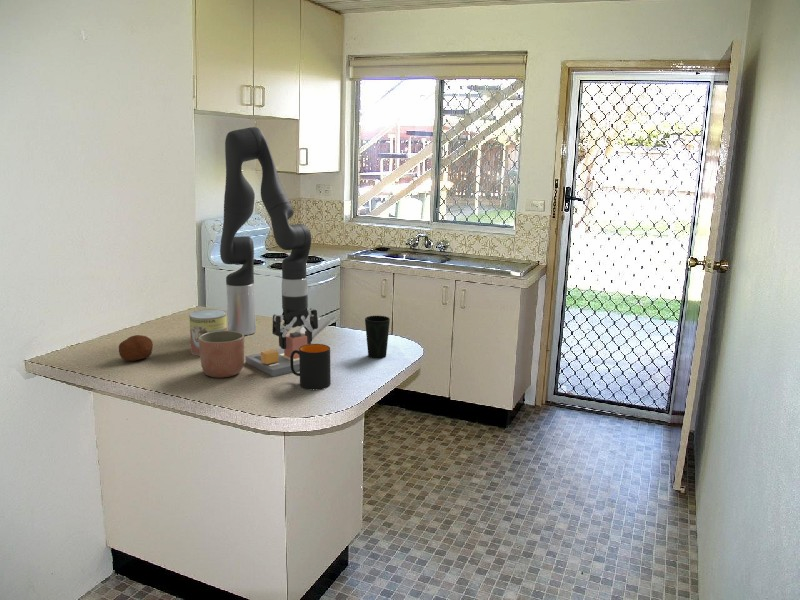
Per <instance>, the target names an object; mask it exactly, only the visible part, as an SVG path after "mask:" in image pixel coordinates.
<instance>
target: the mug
mask: <svg viewBox="0 0 800 600" xmlns="http://www.w3.org/2000/svg"><path fill="white" fill-rule="evenodd" d="M295 353H298V354H299V362H300V370H299V372H297V371H295V370H294V367H293V356H294V354H295ZM290 366H291V370H292V372H291V373H292V374H293V375H294V376H297V377H299V385H300V388H302V389H304V390H308V389H312V390H311V391H317V390H316V389H320V390H324V388H325V389H327V388H329V387H330V386H331V382H332V381H331V378H332V377H331V347H330V346H329V345H327V344H323V343H311V344H307V345H304V346H301V347H300V348H299V351H298V350H294V351H293V352H292V353H291V356H290ZM313 389H314V390H313Z"/></svg>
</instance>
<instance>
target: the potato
mask: <svg viewBox="0 0 800 600" xmlns="http://www.w3.org/2000/svg"><path fill="white" fill-rule="evenodd" d="M153 348H154V343H153V341H152V339H151V338H150V337H148V336H146V335H140V334H139V335H138V334H136V335H131V336H130V337H127V339H124V340H123V341H122V342H120V343H119V344H118V354H119V356H120V357H121V359H123V360H124V361H127V362H135V361H139V360H143V359H146V358H149V357H150V356H151V355H152V352H153Z"/></svg>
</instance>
